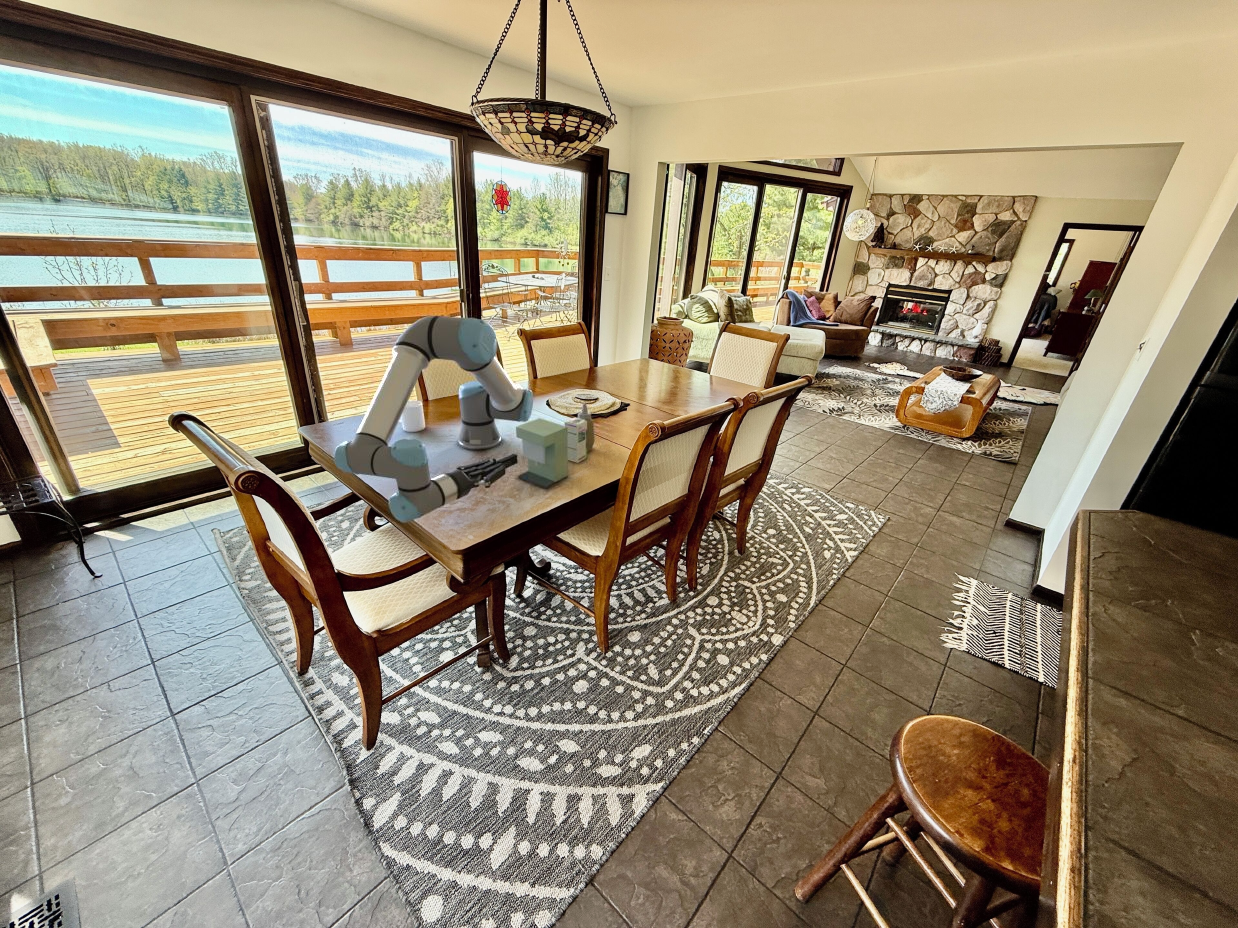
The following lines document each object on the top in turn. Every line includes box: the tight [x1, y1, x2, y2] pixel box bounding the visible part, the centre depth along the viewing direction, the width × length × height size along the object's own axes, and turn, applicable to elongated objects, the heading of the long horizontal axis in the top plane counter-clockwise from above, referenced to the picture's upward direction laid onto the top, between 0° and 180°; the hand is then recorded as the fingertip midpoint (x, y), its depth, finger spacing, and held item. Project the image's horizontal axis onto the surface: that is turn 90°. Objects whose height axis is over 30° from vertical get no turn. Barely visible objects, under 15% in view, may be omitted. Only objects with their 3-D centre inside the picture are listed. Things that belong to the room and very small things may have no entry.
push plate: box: [521, 439, 545, 464], centre depth 149 cm, size 1×9×6 cm, turn 56°
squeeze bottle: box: [577, 402, 596, 453], centre depth 175 cm, size 8×8×18 cm
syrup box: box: [564, 416, 588, 464], centre depth 169 cm, size 6×6×14 cm
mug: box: [398, 400, 426, 433], centre depth 188 cm, size 12×8×10 cm
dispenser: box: [515, 417, 569, 490], centre depth 153 cm, size 10×12×18 cm
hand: (515, 458), depth 143 cm, fingers closed
